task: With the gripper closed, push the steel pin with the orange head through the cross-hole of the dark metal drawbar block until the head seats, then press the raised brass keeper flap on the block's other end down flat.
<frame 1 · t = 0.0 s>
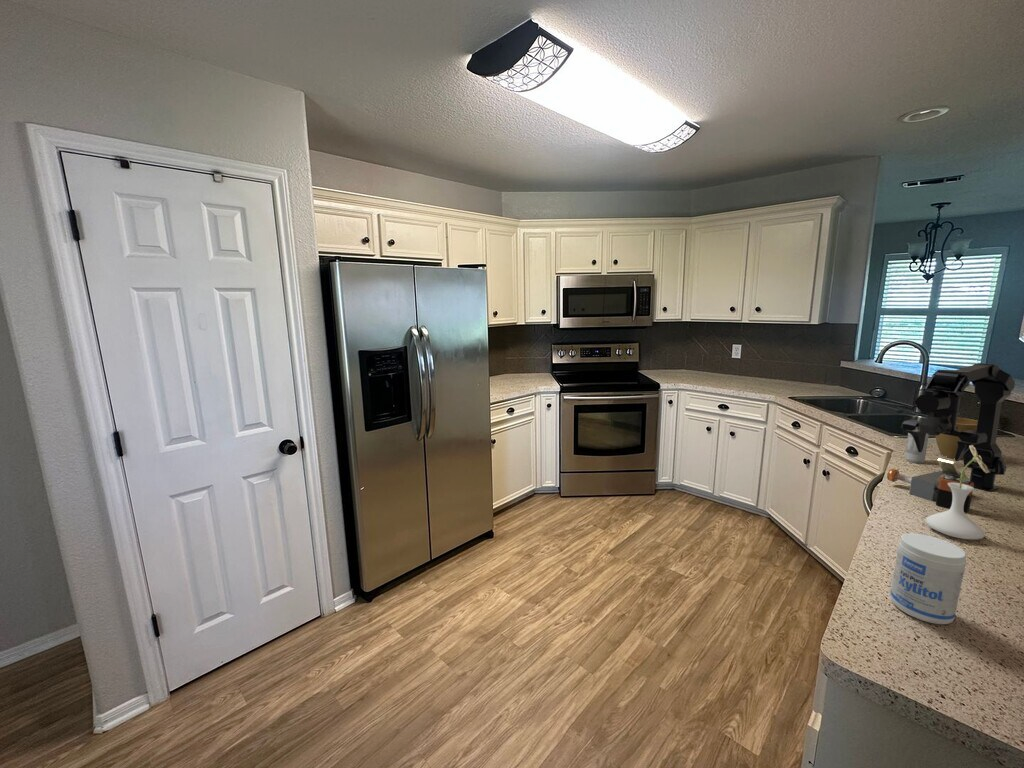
hand: (937, 456, 133), 15 cm above the countertop, fingers open, 9 cm apart
keeper flap: (948, 467, 140), point 9 cm above the countertop, hinge at 45.0°
drawbar block: (935, 493, 140), on the countertop
energy drink can: (914, 461, 170), on the countertop
battery: (952, 508, 130), on the countertop
supplement tub: (920, 610, 85), on the countertop
pin: (916, 482, 140), point 4 cm above the countertop, slide at 6.0 cm
plant pot: (952, 457, 176), on the countertop
flower in vase: (954, 532, 115), on the countertop
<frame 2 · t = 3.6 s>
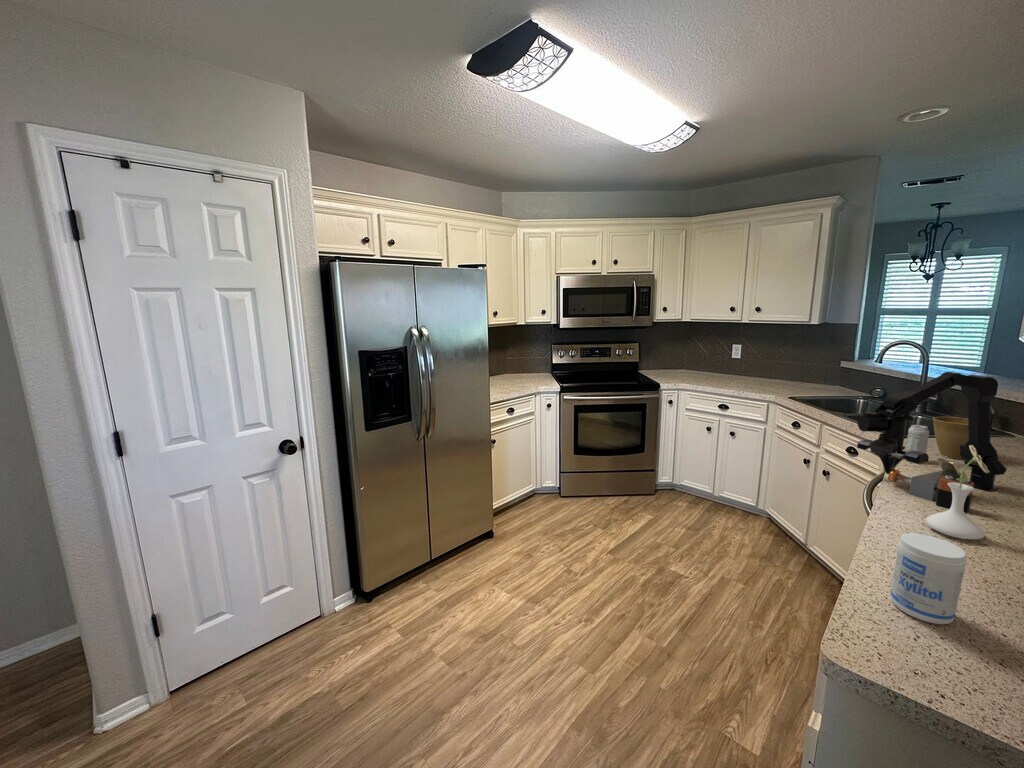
hand: (888, 473, 148), 4 cm above the countertop, fingers closed
pin: (917, 482, 140), point 4 cm above the countertop, slide at 5.6 cm, touching gripper
everything else where it was.
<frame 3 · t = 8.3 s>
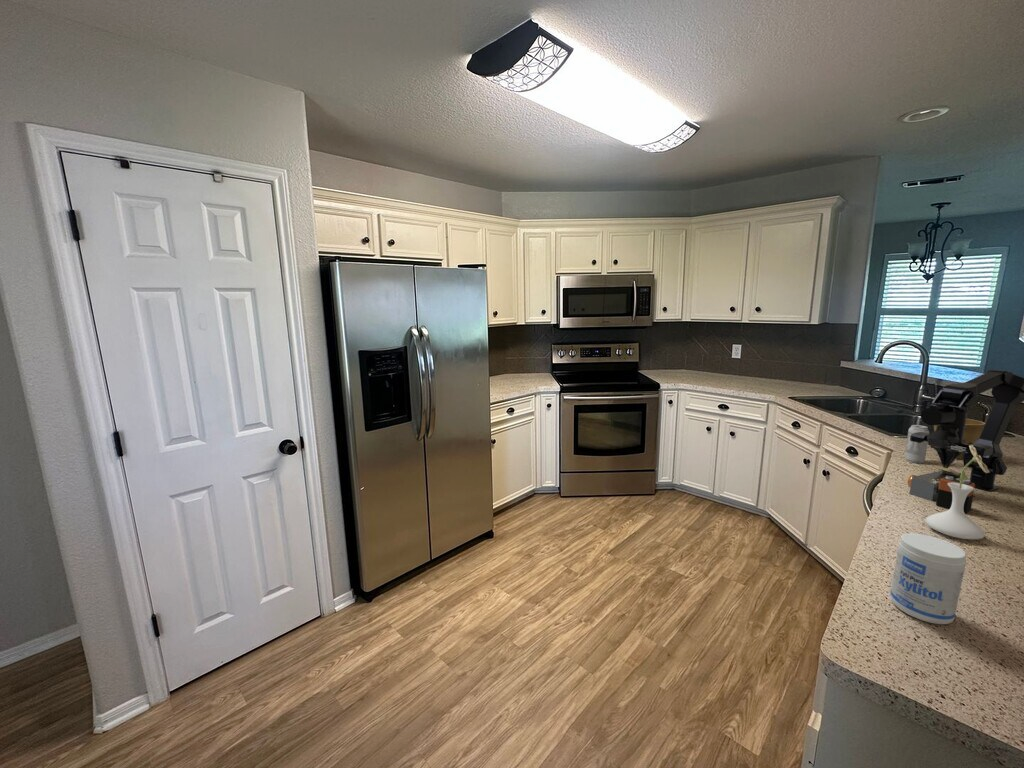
hand: (945, 467, 139), 9 cm above the countertop, fingers closed, pressing on keeper flap
keeper flap: (947, 470, 140), point 8 cm above the countertop, hinge at 20.2°, touching gripper
pin: (938, 488, 135), point 4 cm above the countertop, slide at 0.0 cm
everything else where it was.
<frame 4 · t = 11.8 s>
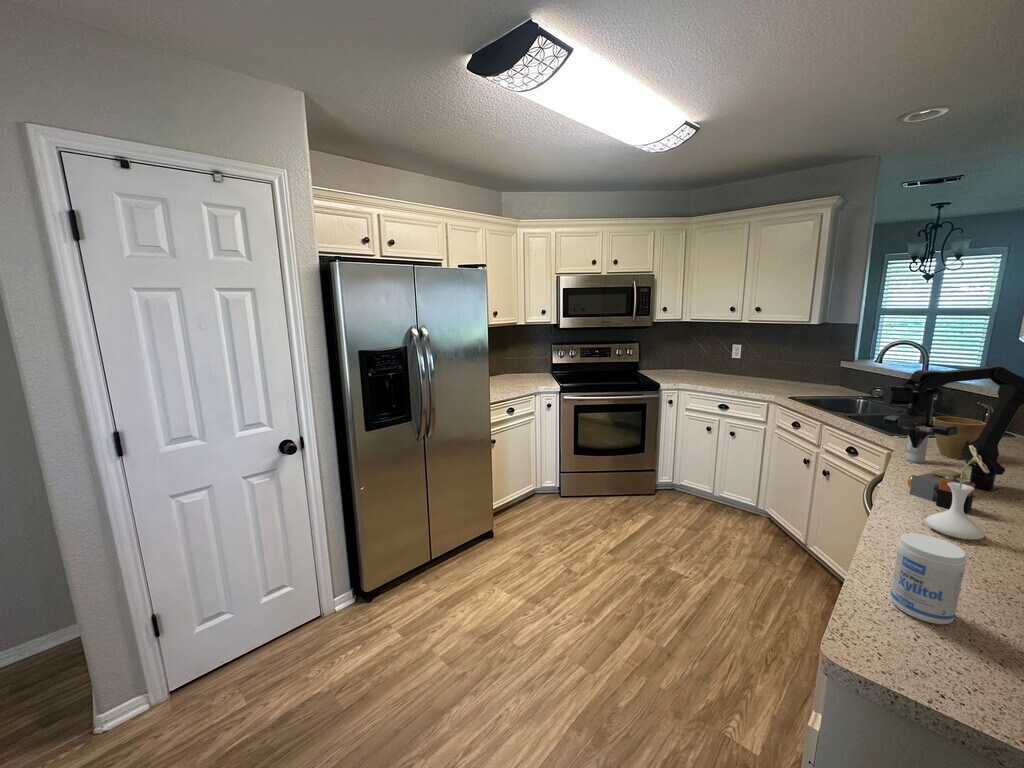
hand: (915, 447, 149), 12 cm above the countertop, fingers closed
keeper flap: (946, 473, 140), point 7 cm above the countertop, hinge at 1.7°
everything else where it was.
at the end: pin slide at 0.0 cm; keeper flap at +2° (first picture: +45°) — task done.
